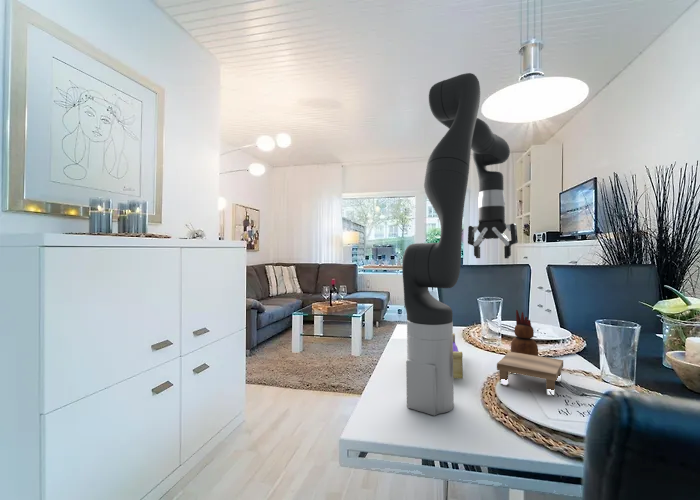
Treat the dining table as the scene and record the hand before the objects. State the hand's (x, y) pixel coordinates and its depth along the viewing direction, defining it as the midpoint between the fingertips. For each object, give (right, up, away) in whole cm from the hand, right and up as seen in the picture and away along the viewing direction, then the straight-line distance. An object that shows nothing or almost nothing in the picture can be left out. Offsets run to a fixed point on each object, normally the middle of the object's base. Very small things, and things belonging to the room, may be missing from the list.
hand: (492, 258), depth 106 cm
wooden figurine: (+4, -29, -12) cm, 32 cm away
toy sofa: (-18, -30, -11) cm, 37 cm away
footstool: (-1, -29, -25) cm, 38 cm away
